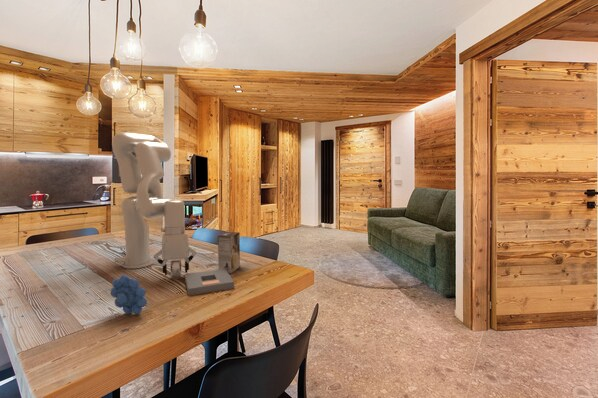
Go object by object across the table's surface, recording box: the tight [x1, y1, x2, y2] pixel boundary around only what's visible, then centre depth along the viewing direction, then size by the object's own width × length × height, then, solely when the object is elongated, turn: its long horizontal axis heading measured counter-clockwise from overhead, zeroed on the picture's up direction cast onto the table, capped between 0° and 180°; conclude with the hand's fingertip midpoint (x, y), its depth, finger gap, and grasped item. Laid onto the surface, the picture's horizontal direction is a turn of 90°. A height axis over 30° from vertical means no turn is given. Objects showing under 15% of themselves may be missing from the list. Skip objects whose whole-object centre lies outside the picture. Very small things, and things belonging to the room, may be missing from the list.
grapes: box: [110, 274, 148, 315], centre depth 86 cm, size 12×7×12 cm, turn 81°
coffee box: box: [217, 231, 241, 274], centre depth 128 cm, size 9×6×16 cm
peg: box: [169, 259, 182, 280], centre depth 118 cm, size 4×4×7 cm
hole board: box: [184, 269, 235, 296], centre depth 112 cm, size 16×16×3 cm
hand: (176, 272), depth 118 cm, fingers open, 7 cm apart
